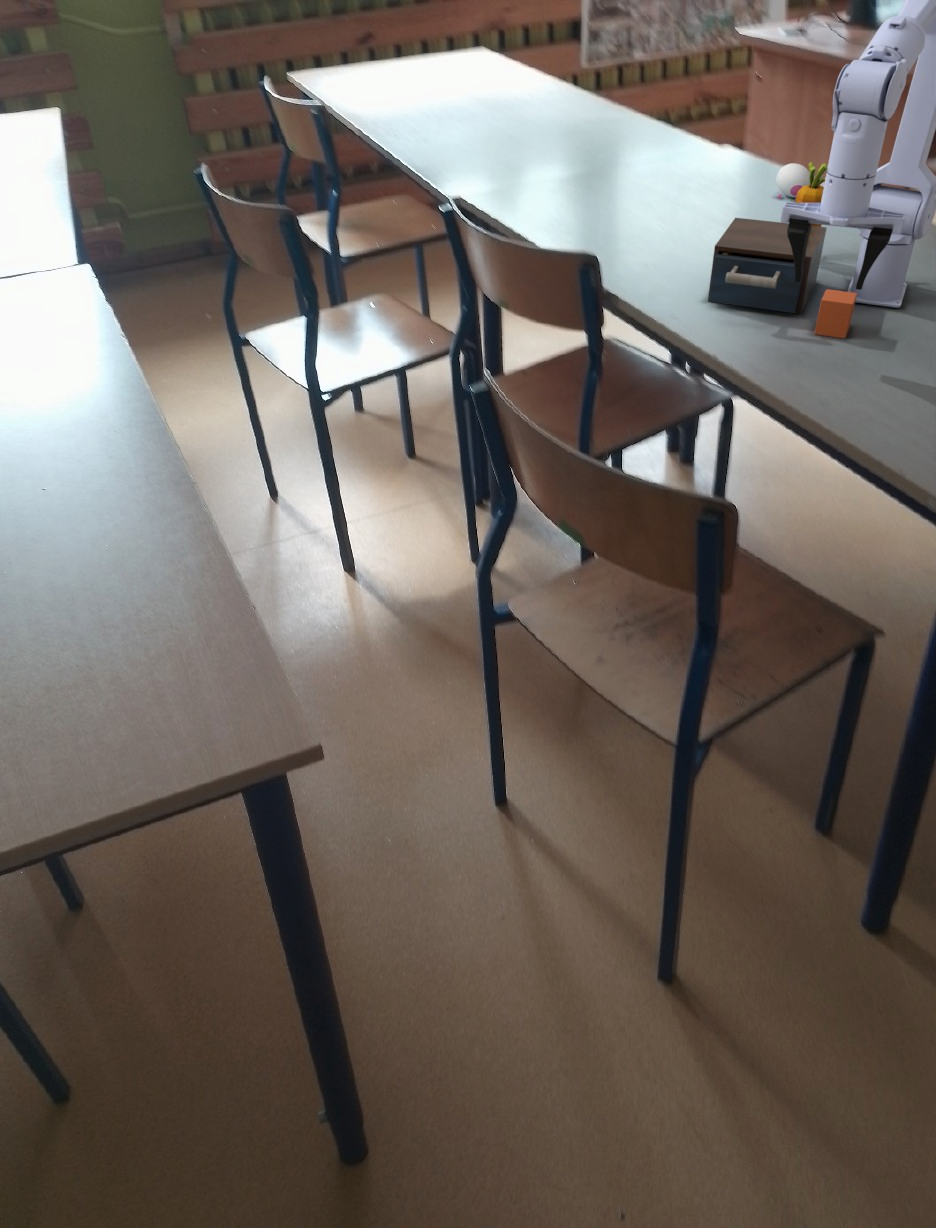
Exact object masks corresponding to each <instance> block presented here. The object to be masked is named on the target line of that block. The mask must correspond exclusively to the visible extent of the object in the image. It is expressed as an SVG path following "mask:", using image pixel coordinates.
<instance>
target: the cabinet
mask: <svg viewBox="0 0 936 1228" xmlns="http://www.w3.org/2000/svg"><path fill="white" fill-rule="evenodd" d="M788 225H789V223H784V222H780V221H771V220H770V221H769V220H761V219H753V218H743V217H734V219H733V220H732V222H731V223H730V224H729V226H728V227H727V228H726V230H725V231H724V232H723V234H722V236H721V237H720V238H719V240H718V241H717V242H716V243H715V245H714V248H713V249H714V250H713V257H712V265H711V271H710V281H709V287H708V288H709V289H708V295H707V302H710V301H709V298H710V290H711V283H712V275H713V268H714V260H715V256H716V255H717V254H721V255H723V252H732V253H741V254H749V255H758V256H766V257H774V258H783V259H791V260H794V258H793V253H792V248H791V245H790V242H789V239H788V236H787V228H788ZM826 233H827V227H826V226H821V227H818V226H811V230H810V235H809V239H808V244H807V249H806V256H805V261H806V263H805V268H804V273H803V279H802V284H801V289H800V294H799V300H798V305H797V310H796V312H795V313H794V314H796V315H797V314H798V315H801V314H802V312H803V309H805V306H806V304H807V301H808V300H809V298H810V296H811V293H812V291H813V289H814V287H815V285H816V282H817V279H818V273H819V268H820V263H821V259H822V253H823V249H824V243H825V239H826ZM710 303H711V302H710ZM715 303H717V304H719V303H718V302H715ZM722 304H724V305H726V304H725V303H722ZM730 305H731V306H733V305H732V304H730ZM738 306H739V307H741V306H740V305H737V307H738ZM745 307H747V306H744V308H745ZM747 308H748V307H747ZM752 308H753V309H755V308H754V307H752ZM759 309H761V310H763V309H762V308H759ZM766 310H768V311H770V310H769V309H766ZM773 311H775V312H777V311H776V310H773ZM781 312H782V313H784V312H783V311H781ZM788 313H789V314H792V313H791V312H788Z"/></svg>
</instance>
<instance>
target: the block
mask: <svg viewBox="0 0 936 1228" xmlns="http://www.w3.org/2000/svg"><path fill="white" fill-rule="evenodd" d="M856 296H857V293H852V292H847V291H843V290H836V289H825V291H824V293H823V295H822V298H821V300H820V305H819V310H818V315H817V319H816V325H815V329H814V335H817V336H825V337H833V338H838V339H846V337H847V335H848V332H849V329H850V327H851V322H852V317H853V313H854V309H855V304H856V302H855V301H856Z"/></svg>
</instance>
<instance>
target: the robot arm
mask: <svg viewBox="0 0 936 1228" xmlns="http://www.w3.org/2000/svg"><path fill="white" fill-rule="evenodd" d="M915 63H916V65H915V68H914V72H913V75H912V79H911V83H910V86H909V89H908V93H907V98H906V101H905V104H904V108H903V112H902V115H901V120H900V122H899V123H900V124H899V127H898V131H897V133H896V138H895V141H894V145H893V149H892V153H891V155H890V159H889V161H888V162H887V163H885V164H884V165H881V166H880V167H879V164H880V159H881V154H882V150H883V145H884V141H885V136H886V131H887V128H888V122H889V120H890V119H891V118H892V117H893V115H894V114H895V112H896V110H897V108H898V105H899V103H900V99H901V97H902V94H903V92H904V90H905V86H906V84H907V76H908V74H909V72H910V71H911V69H912V68H913V66H914V64H915ZM830 126H831V131H832V132H833V136H832V137H833V138H832V143H831V148H830V153H829V158H828V163H827V166H828V168H827V170H826V174H825V178H826V179H825V181H824V185H823V187H824V189H823V194H822V200H821V203H795V202H787V201H786V202H785V203H784V204H783V206H782V208H781V209H782V210H781V215H780V221H779V222H781V223H789V225H788V228H787V236H788V239H789V242H790V245H791V248H792V253H793V258H794V266H795V282H800V281H801V279H802V276H803V271H804V265H805V256H806V249H807V244H808V239H809V235H810V230H811V226H812V224H821V226H831V227H841V228H849V229H850V228H852V229H858V230H859V237H861V242H860V246H859V250H858V256H857V260H856V263H855V269H854V274H853V277H852V278H851V281H850V283H849V286H848V287H847V291H846V292H852V293H857V296H856V301H855V304H864V305H870V306H871V305H872V306H878V307H879V306H880V307H887V308H895V309H899V308H901V307H902V304H903V300H904V297H905V293H906V290H907V286H908V283H906V282H905V281H906V277H907V273H908V270H909V266H910V261H911V257H912V254H913V250H914V246H915V242H916V240H920V239H922V238H924V237H925V236H926V235H927V233H928V232H929V230H930V227H931V226H932V223H933V220H934V218H935V216H936V215H935V214H936V175H935V174H934V173H933V171H932V169H930V167H929V166H928V165H927V160H928V157H929V153H930V150H931V146H932V142H933V140H934V136H935V132H936V0H904V1H903V3H902V5H901V7H900V8H899V11H898V13H897V15H894V16H890V17H889V18H887V19H886V20H885V21H884V22H883V23H882V24H881V25H880V26H879V28H877V30H876V32H875V34H873V37H872V38H871V40H870V42H869V43H868V44H867V46H866V48H864V51H863V52H862V54H861V55H860V56H859V58H858V59H853V60H852V61H851V63H846V64H845V65H844V66H843V67H842V68H841V70H840V72H839V74H838V77H837V80H836V83H835V86H834V90H833V95H832V120H831V125H830ZM883 184H885V185H883ZM888 185H889V186H888ZM890 185H892V186H890ZM895 186H897V187H895ZM898 186H899V187H898ZM902 187H905V188H902ZM908 188H912V189H908Z"/></svg>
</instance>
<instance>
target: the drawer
mask: <svg viewBox="0 0 936 1228" xmlns="http://www.w3.org/2000/svg"><path fill="white" fill-rule="evenodd" d="M805 263H806V261H805ZM804 268H805V265H804ZM803 273H804V271H803ZM802 279H803V276H802ZM802 279H801V281H800V282H795V266H794V260H791V259H783V258H774V257H766V256H758V255H749V254H741V253H732V252H723V255H721V254H717V255H716V256H715V260H714V268H713V275H712V283H711V290H710V298H709V301H710V303H716V302H718V303H717V304H723V303H725V304H724V305H731V304H732V305H731V306H738V305H740V306H739V307H745V306H747V308H753V307H754V308H753V309H760V308H762V309H761V310H767V309H769V310H768V311H774V310H776V311H775V312H782V311H783V312H782V313H789V312H791V313H790V314H796V313H795V312H796V310H797V305H798V300H799V294H800V289H801V284H802ZM709 301H708V302H709Z"/></svg>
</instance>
